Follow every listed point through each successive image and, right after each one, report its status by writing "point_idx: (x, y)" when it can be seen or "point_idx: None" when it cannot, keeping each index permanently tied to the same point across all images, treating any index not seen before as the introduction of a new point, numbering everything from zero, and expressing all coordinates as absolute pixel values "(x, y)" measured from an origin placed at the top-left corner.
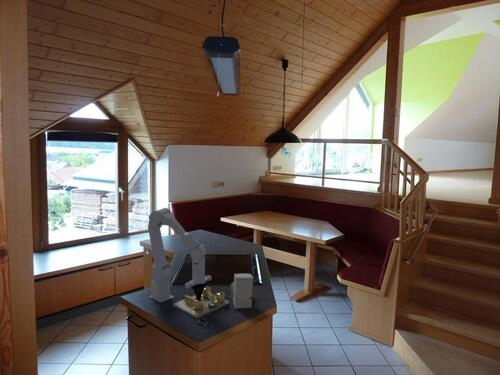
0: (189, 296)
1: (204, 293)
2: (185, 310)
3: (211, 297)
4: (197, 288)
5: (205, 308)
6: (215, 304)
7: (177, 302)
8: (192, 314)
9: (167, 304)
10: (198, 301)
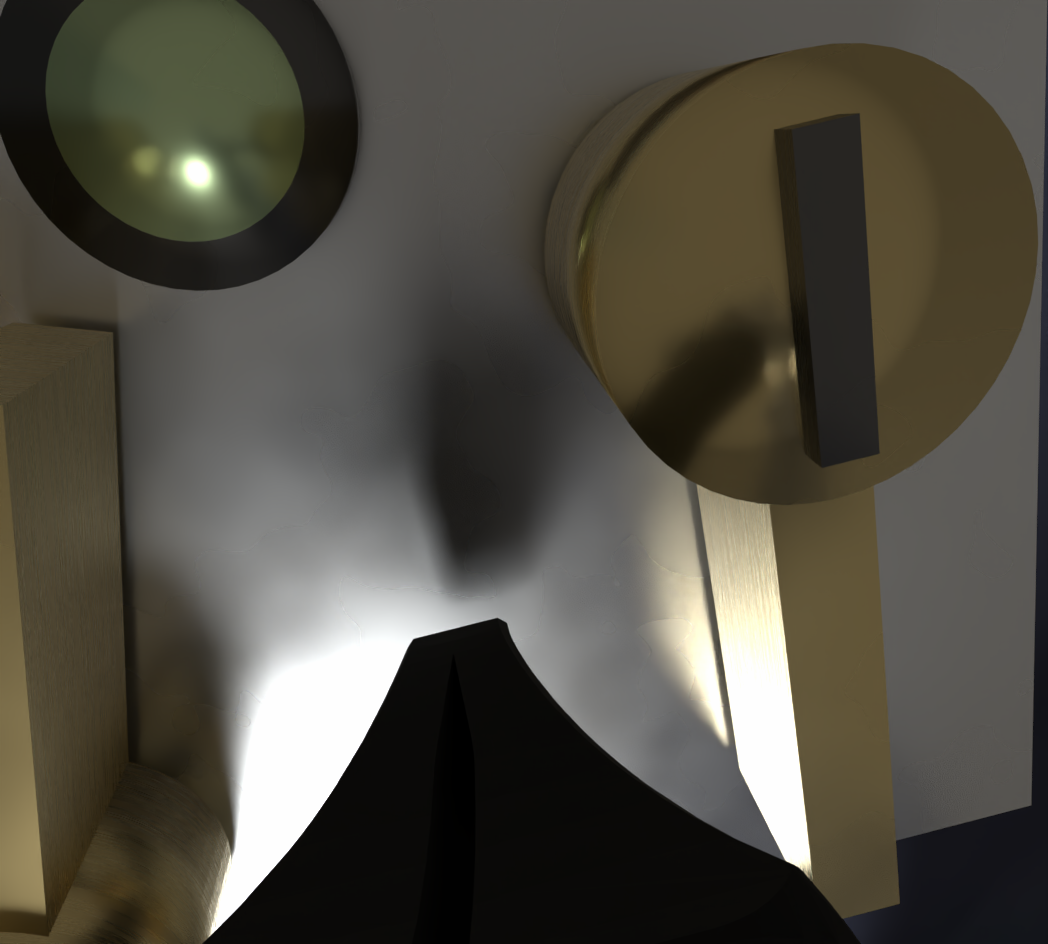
0: (816, 795)
1: (151, 879)
2: (1031, 350)
3: (42, 442)
4: (820, 918)
5: (500, 94)
6: (55, 43)
7: (913, 822)
8: (1024, 6)
9: (1013, 877)
10: (894, 154)
